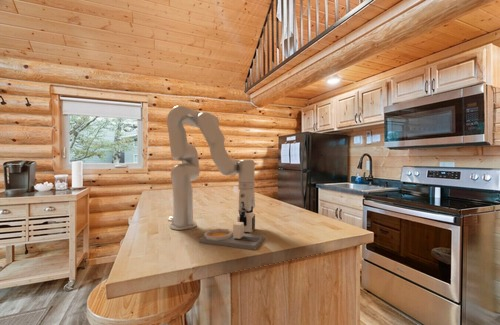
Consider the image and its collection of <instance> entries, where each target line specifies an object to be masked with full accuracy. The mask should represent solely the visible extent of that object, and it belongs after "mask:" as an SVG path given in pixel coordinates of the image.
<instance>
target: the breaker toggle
mask: <svg viewBox="0 0 500 325" xmlns="http://www.w3.org/2000/svg"><path fill="white" fill-rule="evenodd" d="M232 232H233V238H238V239H240V238H242V237H243V236H244V234H245V232H244V222H237V221H236V222H235V223H233V224H232Z"/></svg>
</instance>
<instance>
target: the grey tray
mask: <svg viewBox="0 0 500 325" xmlns="http://www.w3.org/2000/svg"><path fill="white" fill-rule="evenodd" d="M264 240H265V235H261V234H252V233H244V236H243V237H242V238H240V239H238V238H233V230H230V229H227V228H214V229H209V230H208V231H207V230H206V231H205V232H204V233H203V236H202V237H200V238H199V239H198V243H201V244H209V245H215V246H225V247H231V248H238V249H239V248H240V249H247V250H253V251H255V250H256V249H257V248H258V247H259V246H260V245H261V243H262V242H264Z"/></svg>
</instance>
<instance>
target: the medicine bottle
mask: <svg viewBox="0 0 500 325" xmlns="http://www.w3.org/2000/svg"><path fill="white" fill-rule="evenodd" d="M242 210H245V209H242ZM243 213H244V212H243ZM246 217H247V225H246V226H244V233H250V234H252V233H253V232H254V230H255V229H256V213H254V209H253V206H252V207H251V210H250V211H247V213H246ZM236 222H240V217H239V215H238V216H237V220H236Z"/></svg>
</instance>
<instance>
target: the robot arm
mask: <svg viewBox="0 0 500 325" xmlns="http://www.w3.org/2000/svg"><path fill="white" fill-rule="evenodd" d="M166 117H167V118H166V127H167V132H168V139H169V147H170V155H171V157H172V159H173V160H174V161H177V162H182V163H177V164H176V165H174V166H173V167H172V169H171V171H170V180H171V184H172V203H173V204H172V205H173V207H172V209H173V210H172V211H173V214H172V215H173V216H169V217H168V219H167V221H168V222H171V224H170V229H171V230H174V231H175V230H176V231H177V230H178V231H179V230H180V231H181V230H183V231H185V230H189V229H192V228H193V229H194V228H195V227H196V226H197V222H196V221H194V206H193V205H194V204H193V203H194V199H193V197H194V194H193V185H192V182H193V181H195V180H197V179H198V178H199V176H200V172H201V171H200V161H199V155H198V154H199V153H198V151H197V148H196V146H195V145H193V144H192V143H189V142H188V138H187V137H188V136H187V132H186V131H187V130H186V129H185V126H184V125H186V126H191V127H194V128H197V129H199V130H200V131H201V134H202V135H203V137H204V139H205V141H206V143H207V144H208V147H209V152H210V156H211V160H212V161H213V163H214V164H215V166H216V168H217V170H218V171H219V173H220V174H222V175H223V176H228V177H229V176H233V175H238V192H239V193H238V216H239V217H240V222H244V226H246V225H247V217H246V213H247V211H250V210H251V207H252V206H253V210H254V209H255V207H256V200H255V198H256V197H255V182H256V180H255V175H256V174H255V170H256V169H255V168H256V167H255V165H256V164H255V160H254V159H253V160H252V159H235V158H231V157H230V155H229V154H228V152H227V150H226V147H225V140H226V137H225V135H224V134H223V132H222V131H221V128H220V121H219V117H217V116H216V115H214V114H212V113H210V112H206V111H204V112H202V111H198V110H195V109H193V108H191V107H188V106H186V105H181V104H180V105H176V106H174V107H172V108H171V109H170V110H169V112H168V114H167V116H166ZM242 209H245V210H242ZM243 212H244V213H243Z"/></svg>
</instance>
